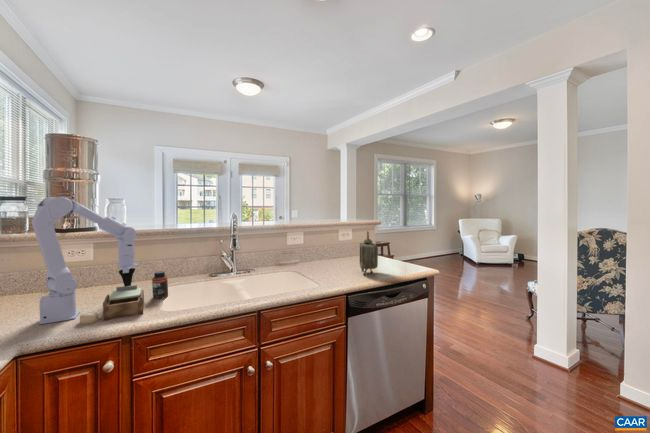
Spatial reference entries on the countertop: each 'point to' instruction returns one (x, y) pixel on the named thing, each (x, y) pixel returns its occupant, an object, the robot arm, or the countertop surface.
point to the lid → (125, 292)
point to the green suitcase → (368, 255)
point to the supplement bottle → (160, 285)
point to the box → (123, 307)
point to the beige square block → (88, 318)
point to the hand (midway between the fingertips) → (127, 286)
